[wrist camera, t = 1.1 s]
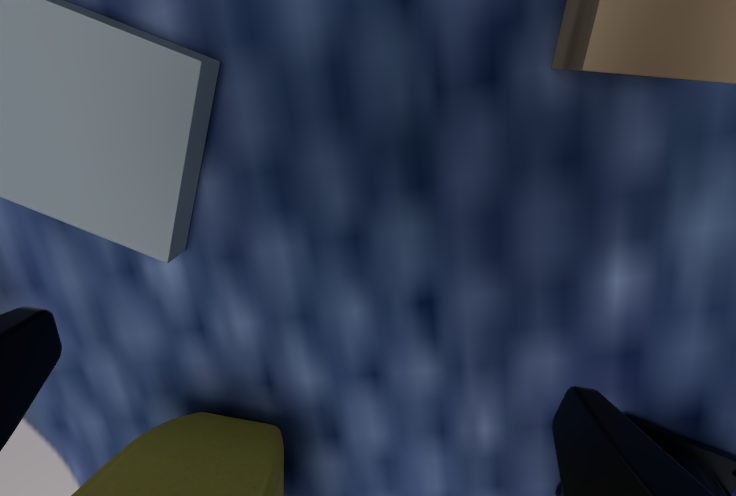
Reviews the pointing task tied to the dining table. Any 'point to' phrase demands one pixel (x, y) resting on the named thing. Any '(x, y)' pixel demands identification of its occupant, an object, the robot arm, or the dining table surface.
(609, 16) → the walnut cube
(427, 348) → the dining table surface
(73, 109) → the slate plinth
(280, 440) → the flower pot
